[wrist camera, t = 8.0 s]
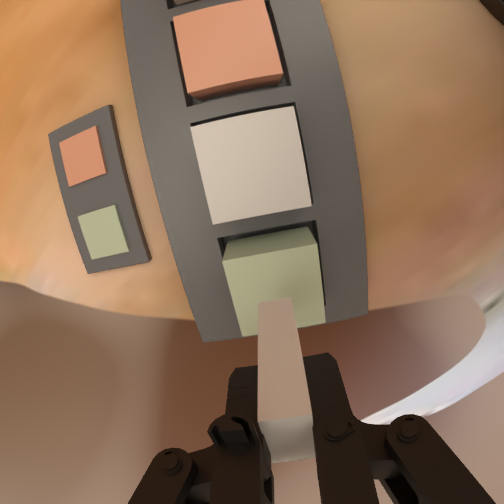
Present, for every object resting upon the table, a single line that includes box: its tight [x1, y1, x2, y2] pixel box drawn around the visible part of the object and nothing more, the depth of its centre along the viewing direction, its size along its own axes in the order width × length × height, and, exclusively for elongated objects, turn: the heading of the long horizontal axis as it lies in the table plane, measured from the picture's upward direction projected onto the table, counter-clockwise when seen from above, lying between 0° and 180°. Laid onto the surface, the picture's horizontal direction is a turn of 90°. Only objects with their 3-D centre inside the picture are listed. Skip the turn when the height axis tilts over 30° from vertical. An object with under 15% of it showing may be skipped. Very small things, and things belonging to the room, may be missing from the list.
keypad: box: [121, 0, 368, 342], centre depth 16 cm, size 30×12×3 cm, turn 11°
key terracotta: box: [173, 0, 283, 101], centre depth 14 cm, size 5×5×3 cm
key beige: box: [190, 106, 312, 225], centre depth 15 cm, size 5×5×3 cm
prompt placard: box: [48, 105, 151, 274], centre depth 19 cm, size 12×6×1 cm, turn 11°
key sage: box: [222, 226, 326, 337], centre depth 18 cm, size 5×5×3 cm
